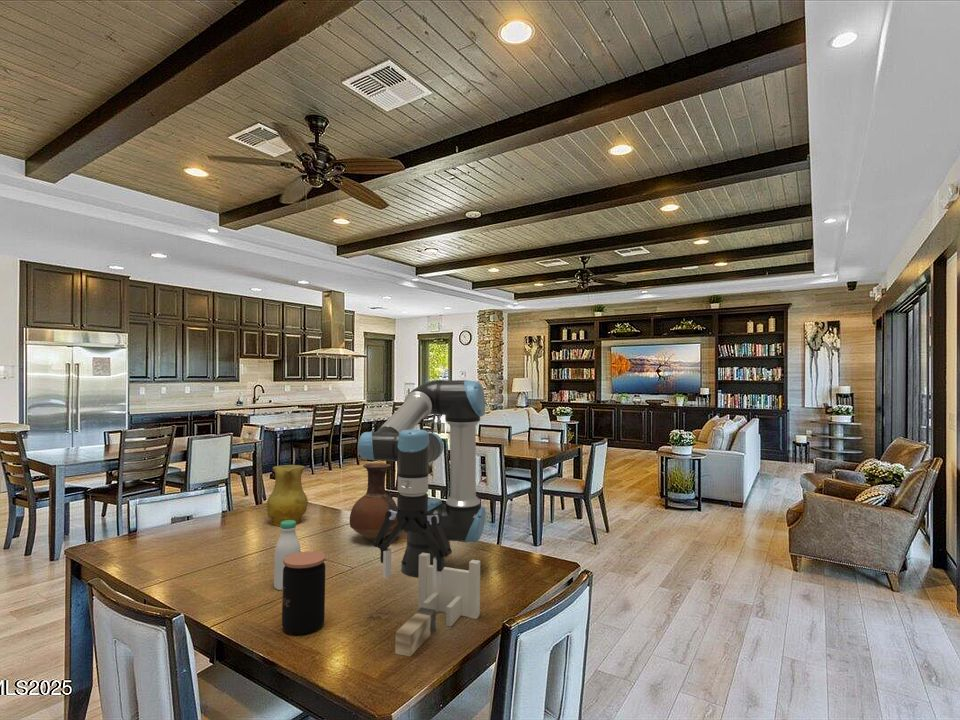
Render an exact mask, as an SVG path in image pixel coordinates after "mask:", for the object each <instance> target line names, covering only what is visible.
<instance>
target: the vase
mask: <svg viewBox="0 0 960 720" xmlns="http://www.w3.org/2000/svg"><path fill="white" fill-rule="evenodd" d="M362 466H363V468H365V469H366V471H367V490H366V493H365V494H364V495H362V496H361V497H360V498H359V499H357V500H356V502H354V504H353V506H352V507H351V511H350V515H349V526H350V528H351V529H352V530H353V531H355V532H356V533H358V534H359V535H361V536H362V537H363V538H366V539H367V540H370V541H372V542H375V540H376V537H377V535H378V533H379V531H380V529H381V527H382V525H383V523H384V521H385V515H386V512H387V511H389V510H391V509H393V510H394V511H395V512H397V511H398V508H397V502H396V501H395V499H394V496H393V495H392V494H391V493H390V492H388V493H387V492H386V485H385V484H386V483H385V482H386V474H387V471H388V469H390V468H391V467H392V465H391V464H389V463H383V462H376V463H364V464H363V465H362ZM398 524H399V522H398V520H397V518H395V519H394V520H393V522H392V524H391V526H390V528H389V530H388V533H387V535H386V536H387V537H388V536H389V535H390V534H391V533H392V532H393V531H394V529H395V528H396V526H397V525H398Z"/></svg>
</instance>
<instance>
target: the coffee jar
mask: <svg viewBox="0 0 960 720" xmlns="http://www.w3.org/2000/svg"><path fill="white" fill-rule="evenodd" d="M325 561H326V554H324V553H323V552H321V551H316V550H315V551H314V550H306V551H303V550H302V551H301V552H297V553H293V554H290V555H288V556H286V557H285V558H284V560H283V563H284V565H285V567H284V569H283V590H282V597H281V598H282V599H281V601H282V602H281V604H282V605H281V627H282V629H283V630H284V631H285V633H287V634H288V635H292V636H304V635H308V634H312V633H315V632H317V631H318V630H319V629H320V628H321V627H322V626H323V624H324V623H325V615H326V614H325V613H326V612H325V611H326V610H325V606H326V605H325V604H326V602H325V601H326V600H325V599H326V596H325V595H326V564H325Z"/></svg>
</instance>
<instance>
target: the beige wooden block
mask: <svg viewBox="0 0 960 720" xmlns="http://www.w3.org/2000/svg"><path fill="white" fill-rule="evenodd" d="M436 621H437V613H436V610H434V609H428V608H423V607H421V608H420V609H419V608H418V610H417V611H416V613H415V614H414V615H412V617H411V618H409V619H408V620H407V621H406V622H405V623H404V624H402V626H401V627H399V629H397V630H396V631H395V644H394V646H395V647H394V649H395V650H394V654H398V655H402V656H407V657H411V656H412V655H413V654H414V653H415V652H416V651H417V650H418V649H419V648H420V647H421V646H422V645H423V643H424V642H425V641H427V639H428V638H429V637H430V636H431V635H432V634H434V633H435V631H437V630H436V629H437V628H436V626H437V622H436Z"/></svg>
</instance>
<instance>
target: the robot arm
mask: <svg viewBox="0 0 960 720" xmlns="http://www.w3.org/2000/svg"><path fill="white" fill-rule="evenodd" d="M485 396H486V395H485V392H484V388H483V386H482V384H481V383H480V382H478V381H475V380H468V379H464V380H463V379H461V380H460V379H459V380H458V379H457V380H454V379H453V380H451V379H450V380H447V379H443V380H441V379H436V380H431V381H427V382H425V383H422V384H420V385H418V386H417V387H416V388H414V389H413V390H412V389H411V391H410V392H409V393H407V394H406V396H405V398H404V400H403V404H402V405H400V406H399V408H397V410H396V411H395V412H393V414H392V415H391V416H390V417H389V418H388V419H387V420H386V421H385V422H384V423H383V424H382V425H381V426H380V427H379V428H378V429H377V430H376V431H373V430H371V431H365V432H362V433H361V435H360V437H359V439H358V443H357V449H358V455H359V456H360V458H361V459H363V460H366V461H367V460H368V461H369V460H370V461H377V462H378V461H380V462H381V461H383V462H397V492H398V494H397V496H396V497H397V498H396V499H397V501H396V505H397V508H398V511H397V512H395V511H394V510H393V509H391V510H389V511H387V512H386V515H385V521H384V523H383V525H382V527H381V529H380V531H379V533H378V535H377V537H376V540H375V541H373V543H372V544H373V547H374V548H378V549H379V551H380V559H379V561H380V563H381V564H382V578H383V579H387V578H388V577H390V576H391V575H392V548H390V546H391V544H393V542H394V541H395V540H396V538H397V537H398V536H399V535H400V534H401V533H402V532H403V531H404V532H405V533H406V548H405V551H404V553H403V557H402V560H401V566H400V567H401V568H400V571H401V572H402V573H404V575H407V576H411V577H416V578H417V577H418V578H419V555H420V554H421V553H428V554H430V565H433V586H437V585H438V584H439V583H440V573H441V571H442V570H443V569H444V567H447V565H446V564H447V563H446V562H447V561H446V559H445V558H447V557H448V556H449V555H451V554H452V553H453V552H452V548H451V546H450V543H449V541H450V542H460V543H465V544H466V543H477V542H478V541H479V540H480V539H481V537H482V535H483V531H484V526H485V522H486V516H487V515H486V513H487V512H486V507H485V506H482V505H481V499H480V498H479V497H478V496H477V492H476V491H477V487H476V486H477V485H476V484H477V481H476V480H477V478H476V477H477V474H476V470H477V467H476V466H477V465H476V464H477V461H476V460H477V459H476V457H477V454H476V452H477V450H476V449H477V447H476V446H477V445H476V443H477V442H476V440H477V438H476V436H477V434H476V432H477V431H476V430H477V429H476V428H477V427H476V426H477V425H478V424H479V423H480V422H481V417H483V416H484V415H485V413H486V397H485ZM429 415H432V416H433V415H438V416H439V415H440V416H444V417H445V423H447V424H448V425H449V445H450V446H449V457H450V459H449V460H450V461H449V463H450V464H449V465H450V466H449V468H450V469H449V471H450V472H449V473H450V474H449V475H450V477H449V478H450V479H449V480H450V482H449V485H450V489H449V490H450V491H449V492H450V493H449V494H450V495H449V496H448V498H447V499H446V500H445V504H443V502H442V499H440V498H436V497H432V498H429V495H428V492H429V463H432V462H434V461H436V460H438V458H439V457H441V455H442V454H443V451H444V442H443V441H444V440H442V438H441V436H440V435H438V433H434V432H428V431H427V430H426V429H415V428H416V426H417V425H418V424H419V423H420V422H421V420H422V419H425V418H428V417H429ZM395 518H397V520H398V522H399V524H398V525H397V526H396V528H395V529H394V531H393V532H392V533H390V534H388V535H387V533H388V530H389V528H390V526H391V524H392V522H393V520H394V519H395ZM386 535H387V537H386Z"/></svg>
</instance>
